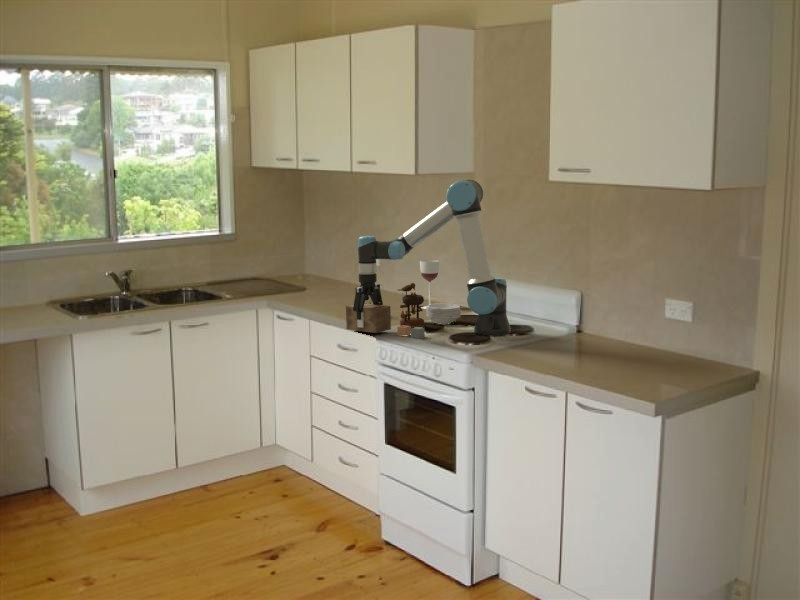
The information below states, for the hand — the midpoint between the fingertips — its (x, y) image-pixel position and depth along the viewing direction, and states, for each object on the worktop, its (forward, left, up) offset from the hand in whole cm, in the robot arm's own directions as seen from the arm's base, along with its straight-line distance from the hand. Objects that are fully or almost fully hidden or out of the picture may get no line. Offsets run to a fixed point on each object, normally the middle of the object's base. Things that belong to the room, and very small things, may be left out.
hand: (368, 325), depth 388 cm
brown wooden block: (0, 0, -2) cm, 2 cm away
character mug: (+26, -31, -3) cm, 41 cm away
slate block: (-23, -3, -3) cm, 24 cm away
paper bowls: (-14, -36, -3) cm, 39 cm away
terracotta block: (-16, -3, -3) cm, 17 cm away
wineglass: (+15, -67, -3) cm, 69 cm away
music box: (-9, -20, -3) cm, 22 cm away
